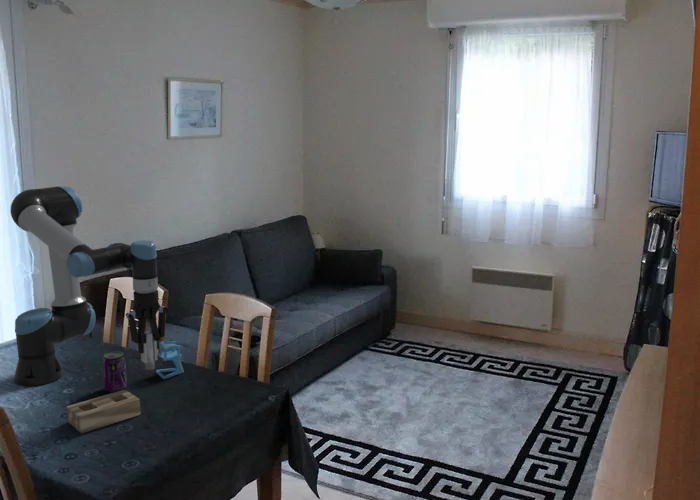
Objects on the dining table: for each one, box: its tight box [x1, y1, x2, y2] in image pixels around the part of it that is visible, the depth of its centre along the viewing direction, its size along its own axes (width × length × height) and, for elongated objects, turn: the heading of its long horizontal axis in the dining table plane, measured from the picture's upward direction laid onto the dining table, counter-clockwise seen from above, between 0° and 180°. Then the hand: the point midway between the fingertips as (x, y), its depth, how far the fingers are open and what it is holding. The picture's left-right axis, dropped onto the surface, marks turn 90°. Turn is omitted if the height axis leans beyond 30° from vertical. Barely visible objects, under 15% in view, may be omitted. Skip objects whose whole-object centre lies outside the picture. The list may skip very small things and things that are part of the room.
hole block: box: [66, 389, 142, 434], centre depth 204 cm, size 10×18×5 cm, turn 133°
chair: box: [155, 339, 184, 380], centre depth 238 cm, size 8×8×12 cm
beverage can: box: [101, 351, 128, 393], centre depth 225 cm, size 7×7×12 cm
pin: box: [144, 330, 156, 371], centre depth 219 cm, size 3×3×12 cm
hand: (149, 360), depth 220 cm, fingers closed on pin, 3 cm apart
